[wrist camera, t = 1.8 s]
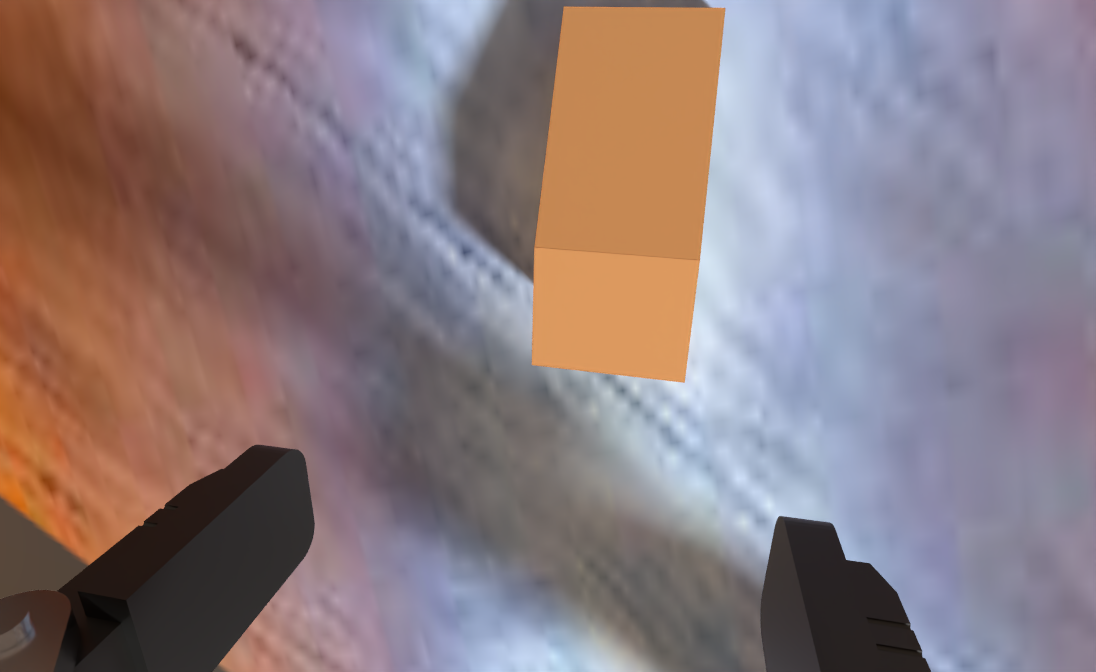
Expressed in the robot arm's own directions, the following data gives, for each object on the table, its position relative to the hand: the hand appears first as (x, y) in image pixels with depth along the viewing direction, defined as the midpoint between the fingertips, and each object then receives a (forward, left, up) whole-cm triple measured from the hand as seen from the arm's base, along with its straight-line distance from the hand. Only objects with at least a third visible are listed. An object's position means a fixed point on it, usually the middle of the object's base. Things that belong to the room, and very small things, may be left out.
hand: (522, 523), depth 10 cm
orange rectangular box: (0, -4, -16) cm, 17 cm away
